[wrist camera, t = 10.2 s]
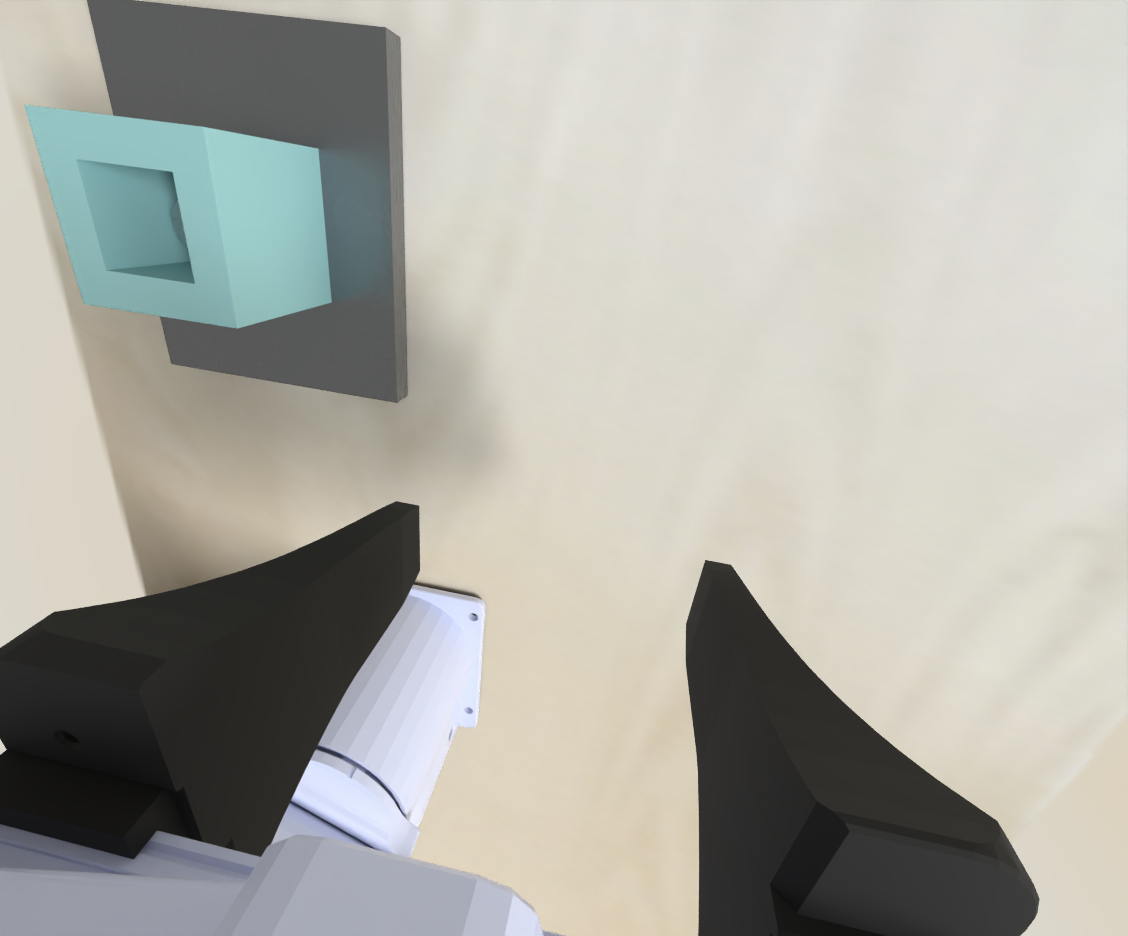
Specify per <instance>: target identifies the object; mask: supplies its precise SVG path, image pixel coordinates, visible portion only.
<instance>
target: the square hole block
mask: <svg viewBox="0 0 1128 936" xmlns="http://www.w3.org/2000/svg"><path fill="white" fill-rule="evenodd" d="M25 109H26V112H27V115H28V119H29V122H30V125H31V129H32V132H33V135H34V139H35V142H36V146H37V149H38V152H39V156H40V159H41V162H42V166H43V169H44V172H45V176H46V179H47V182H48V186H49V189H50V192H51V196H52V199H53V203H54V206H55V209H56V213H57V216H58V219H59V223H60V226H61V229H62V233H63V236H64V239H65V243H66V246H67V250H68V253H69V256H70V260H71V263H72V266H73V270H74V273H75V276H76V280H77V283H78V286H79V290H80V293H81V296H82V300H83V303H84V304H87V305H93V306H100V307H106V308H112V309H118V310H125V311H131V312H137V313H143V314H150V315H156V316H162V317H168V318H175V319H181V320H187V321H193V322H200V323H206V324H212V325H218V326H225V327H231V328H237V329H238V328H241V327H245V326H248V325H252V324H256V323H259V322H263V321H266V320H270V319H274V318H277V317H281V316H284V315H288V314H292V313H295V312H299V311H302V310H306V309H310V308H313V307H317V306H320V305H324V304H328V303H331V302H332V300H331V289H330V277H329V266H328V254H327V243H326V231H325V220H324V208H323V197H322V185H321V174H320V162H319V151H318V148H312V147H307V146H302V145H297V144H291V143H286V142H281V141H275V140H270V139H265V138H260V137H254V136H249V135H244V134H239V133H233V132H228V131H223V130H217V129H212V128H207V127H201V126H193V125H185V124H177V123H169V122H161V121H153V120H144V119H136V118H128V117H120V116H112V115H104V114H96V113H88V112H80V111H72V110H64V109H56V108H48V107H40V106H31V105H25ZM177 200H178V202H179V207H180V212H181V217H182V222H183V227H184V232H185V237H186V242H187V247H188V248H187V247H186V246H185V245H184V244H183V243H182V242H181V241H180V239H179V238H178V236H177V235H176V233H175V231H174V228H173V225H172V221H171V211H172V207H173V205H174V203H175V202H176V201H177Z"/></svg>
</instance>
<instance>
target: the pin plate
mask: <svg viewBox="0 0 1128 936" xmlns="http://www.w3.org/2000/svg"><path fill="white" fill-rule="evenodd" d="M87 2H88V7H89V11H90V15H91V20H92V24H93V28H94V33H95V37H96V41H97V46H98V50H99V54H100V58H101V63H102V67H103V71H104V76H105V80H106V84H107V89H108V93H109V97H110V102H111V106H112V110H113V114H114V116H120V117H128V118H136V119H144V120H153V121H161V122H169V123H177V124H185V125H193V126H201V127H207V128H212V129H217V130H223V131H228V132H233V133H239V134H244V135H249V136H254V137H260V138H265V139H270V140H275V141H281V142H286V143H291V144H297V145H302V146H307V147H312V148H318V151H319V162H320V174H321V185H322V197H323V208H324V220H325V231H326V243H327V254H328V266H329V277H330V289H331V300H332V302H331V303H328V304H324V305H320V306H317V307H313V308H310V309H306V310H302V311H299V312H295V313H292V314H288V315H284V316H281V317H277V318H274V319H270V320H266V321H263V322H259V323H256V324H252V325H248V326H245V327H241V328H238V329H237V328H231V327H225V326H218V325H212V324H206V323H200V322H193V321H187V320H181V319H175V318H168V317H162V316H160V317H161V321H162V326H163V330H164V334H165V338H166V343H167V347H168V351H169V356H170V360H171V364H175V365H181V366H187V367H193V368H198V369H204V370H210V371H216V372H221V373H227V374H233V375H239V376H245V377H250V378H256V379H262V380H268V381H274V382H279V383H285V384H291V385H297V386H303V387H308V388H314V389H320V390H326V391H332V392H337V393H343V394H349V395H355V396H361V397H366V398H372V399H378V400H384V401H390V402H395V403H397V402H399V401H400V400H402V399H403V398H404V397H406V396H407V395H408V394H407V345H406V296H405V247H404V199H403V150H402V101H401V52H400V37H399V36H397V35H396V34H394V33H393V32H392V31H390V30H389V29H387V28H386V27H377V26H367V25H358V24H349V23H339V22H330V21H321V20H311V19H302V18H293V17H283V16H274V15H265V14H255V13H246V12H237V11H227V10H218V9H209V8H199V7H190V6H181V5H171V4H162V3H153V2H143V1H134V0H87ZM171 221H172V225H173V228H174V231H175V233H176V235H177V236H178V238H179V239H180V241H181V242H182V243H183V244H184V245H185V246H186V247H187V242H186V237H185V232H184V227H183V222H182V217H181V212H180V207H179V202H178V200H177V201H176V202H175V203H174V205H173V207H172V211H171ZM187 248H188V247H187Z"/></svg>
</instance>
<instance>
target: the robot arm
mask: <svg viewBox="0 0 1128 936" xmlns="http://www.w3.org/2000/svg"><path fill="white" fill-rule="evenodd" d="M419 571H420V534H419V506H418V505H413V504H407V503H402V502H397V501H396V502H394V503H392V504H389V505H387V506H385V507H383V508H381V509H379V510H377V511H375V512H373V513H371V514H369V515H367V516H365V517H363V518H361V519H360V520H358V521H356V522H354V523H352V524H350V525H348V526H346V527H344V528H342V529H340V530H338V531H336V532H334V533H332V534H330V535H328V536H326V537H323V538H321V539H319V540H317V541H314V542H312V543H310V544H308V545H306V546H303V547H301V548H299V549H297V550H295V551H292V552H290V553H288V554H285V555H283V556H280V557H278V558H275V559H273V560H270V561H268V562H265V563H262V564H259V565H256V566H254V567H251V568H248V569H245V570H242V571H239V572H236V573H233V574H230V575H226V576H223V577H219V578H216V579H212V580H209V581H206V582H202V583H199V584H195V585H192V586H188V587H184V588H180V589H176V590H172V591H168V592H164V593H159V594H154V595H150V596H145V597H141V598H136V599H131V600H126V601H120V602H114V603H108V604H102V605H96V606H90V607H84V608H78V609H72V610H65V611H58V612H54V613H52V614H51V615H49V616H47V617H46V618H45V619H43V620H41V621H40V622H38V623H37V624H35V625H34V626H32V627H31V628H29V629H28V630H26V631H25V632H23V633H22V634H20V635H19V636H17V637H16V638H14V639H13V640H11V641H10V642H9V643H7V644H6V645H4V646H3V647H1V648H0V739H1V741H2V743H3V744H4V746H5V747H6V749H7V750H6V751H5V752H3V753H2V754H1V755H0V936H564V935H560V934H556V933H553V932H549V931H545V930H542V928H541V925H540V922H539V918H538V915H537V913H536V912H535V910H534V908H533V906H531V905H530V904H529V903H528V902H527V901H525V900H524V899H523V898H522V897H521V896H520V895H518V894H517V893H516V892H515V891H514V890H512V889H511V888H509V887H507V886H504V885H502V884H499V883H497V882H494V881H492V880H489V879H487V878H484V877H482V876H479V875H475V874H472V873H468V872H464V871H460V870H456V869H452V868H448V867H444V866H440V865H436V864H432V863H428V862H424V861H420V860H416V859H412V858H410V857H411V854H412V852H413V849H414V846H415V844H416V841H417V839H418V836H419V833H420V829H419V828H418V826H419V824H420V822H421V820H422V817H423V815H424V812H425V810H426V807H427V805H428V802H429V799H430V797H431V794H432V792H433V789H434V786H435V784H436V781H437V779H438V776H439V773H440V771H441V768H442V766H443V763H444V760H445V758H446V755H447V753H448V750H449V747H450V745H451V742H452V740H453V737H454V734H455V732H456V729H457V727H458V725H459V726H464V727H469V728H471V727H474V726H476V724H477V721H478V713H479V697H480V682H481V666H482V651H483V635H484V619H485V604H484V602H483V601H482V600H481V599H479V598H476V597H472V596H467V595H462V594H457V593H452V592H447V591H442V590H437V589H433V588H428V587H423V586H418V585H413V584H414V582H415V580H416V578H417V575H418V573H419ZM472 613H474V614H476V615H477V616H475V615H473V614H472ZM686 668H687V677H688V686H689V695H690V703H691V711H692V719H693V727H694V735H695V744H696V752H697V765H698V795H699V932H698V936H1020V935H1021V934H1022V933H1023V932H1025V930H1026V929H1027V928H1028V927H1029V925H1030V924H1031V923H1032V921H1033V920H1034V919H1035V917H1036V915H1037V912H1038V905H1039V897H1038V894H1037V892H1036V889H1035V887H1034V884H1033V883H1032V881H1031V879H1030V877H1029V875H1028V874H1027V872H1026V870H1025V868H1024V866H1023V865H1022V863H1021V861H1020V860H1019V858H1018V856H1017V854H1016V852H1015V850H1014V849H1013V847H1012V845H1011V843H1010V842H1009V840H1008V838H1007V836H1006V835H1005V833H1004V831H1003V830H1002V828H1001V827H1000V825H999V823H998V822H997V821H996V820H995V819H993V818H992V817H991V816H989V815H988V814H986V813H985V812H983V811H982V810H980V809H979V808H978V807H976V806H975V805H973V804H972V803H970V802H969V801H967V800H966V799H964V798H963V797H962V796H960V795H959V794H957V793H956V792H954V791H953V790H951V789H950V788H949V787H947V786H946V785H944V784H943V783H941V782H940V781H938V780H937V779H936V778H934V777H933V776H932V775H930V774H929V773H928V772H926V771H925V770H924V769H922V768H921V767H920V766H919V765H917V764H916V763H915V762H913V761H912V760H911V759H909V758H908V757H907V756H906V755H904V754H903V753H902V752H900V751H899V750H898V749H897V748H895V747H894V746H893V745H892V744H891V743H889V742H888V741H887V740H886V739H884V738H883V737H882V736H881V735H880V734H878V733H877V732H876V731H875V730H874V729H873V728H872V727H870V726H869V725H868V724H867V723H866V722H865V721H864V720H862V719H861V718H860V717H859V716H858V715H857V714H856V713H855V712H853V711H852V710H851V709H850V708H849V707H848V706H847V705H846V704H845V703H844V702H843V701H842V700H841V699H840V698H838V697H837V696H836V695H835V694H834V693H833V692H832V691H831V690H830V688H829V687H828V686H827V685H826V684H825V683H824V682H823V681H822V680H821V679H820V678H819V677H818V676H817V675H816V674H815V673H814V672H813V671H812V670H811V669H810V668H809V667H808V666H807V664H806V663H805V662H804V661H803V660H802V659H801V658H800V656H799V655H798V654H797V653H796V652H795V651H794V649H793V648H792V647H791V646H790V645H789V643H788V642H787V641H786V640H785V639H784V637H783V636H782V635H781V634H780V632H779V631H778V630H777V629H776V627H775V626H774V625H773V623H772V622H771V621H770V619H769V618H768V617H767V615H766V614H765V613H764V611H763V610H762V609H761V607H760V606H759V604H758V603H757V602H756V600H755V599H754V597H753V596H752V595H751V593H750V592H749V590H748V589H747V587H746V586H745V584H744V583H743V581H742V580H741V579H740V577H739V576H738V574H737V573H736V571H735V570H734V568H733V567H732V566H731V565H729V564H723V563H718V562H713V561H708V560H705V563H704V566H703V570H702V573H701V576H700V580H699V583H698V586H697V590H696V593H695V596H694V600H693V603H692V606H691V610H690V613H689V616H688V620H687V623H686Z"/></svg>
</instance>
